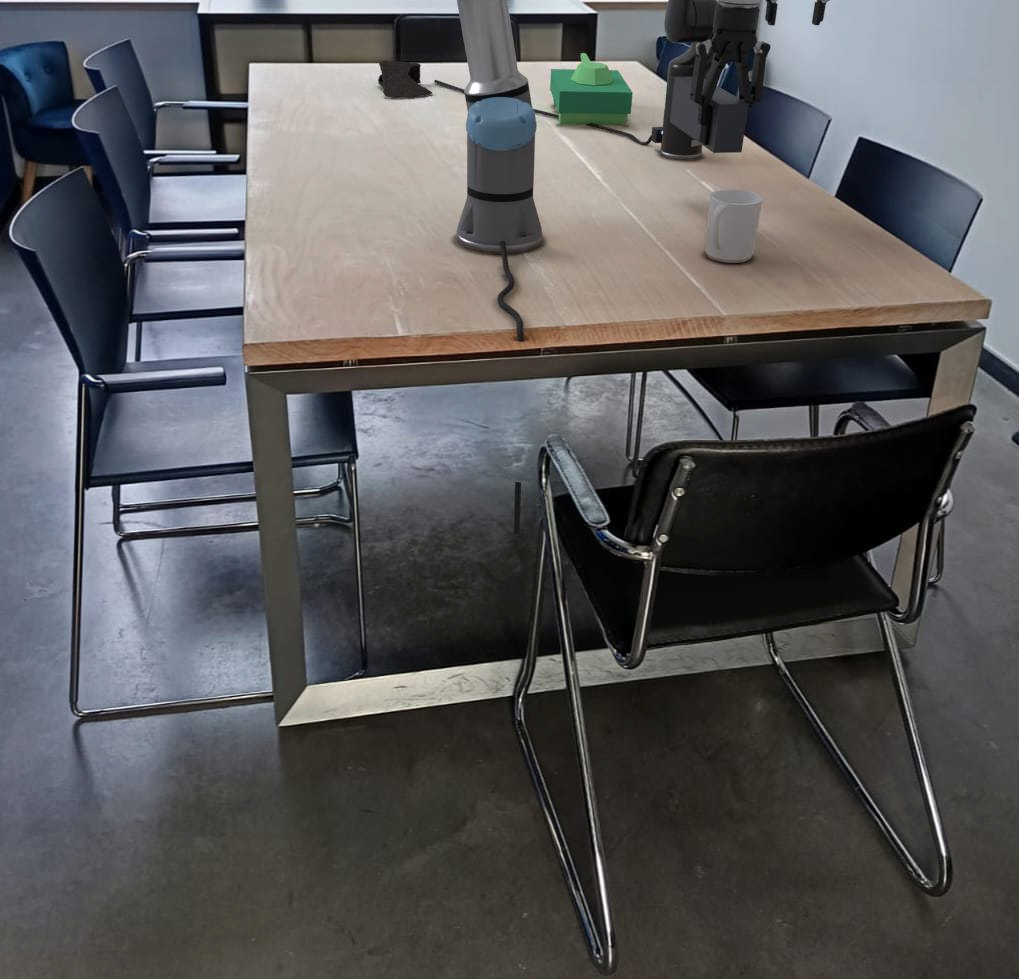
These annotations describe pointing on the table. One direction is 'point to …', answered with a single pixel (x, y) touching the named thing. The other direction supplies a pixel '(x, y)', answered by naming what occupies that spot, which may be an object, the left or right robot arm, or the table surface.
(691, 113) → the bar
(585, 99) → the toy tank
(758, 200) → the mug
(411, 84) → the axe head
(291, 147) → the table surface
